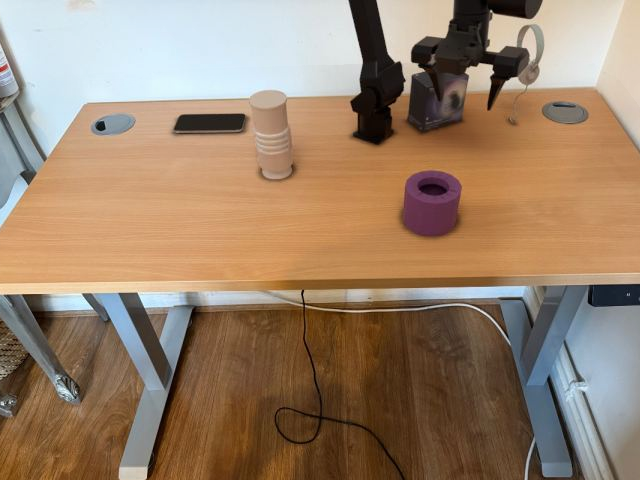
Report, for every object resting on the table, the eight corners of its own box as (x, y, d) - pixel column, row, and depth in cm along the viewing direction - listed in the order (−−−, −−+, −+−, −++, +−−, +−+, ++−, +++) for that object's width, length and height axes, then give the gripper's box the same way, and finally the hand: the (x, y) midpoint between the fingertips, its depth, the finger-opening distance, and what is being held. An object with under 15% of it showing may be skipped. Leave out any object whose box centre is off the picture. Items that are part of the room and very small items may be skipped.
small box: (422, 134, 113) (427, 86, 105) (406, 121, 117) (409, 74, 109) (463, 121, 116) (470, 74, 109) (445, 109, 120) (451, 62, 113)
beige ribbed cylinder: (287, 183, 102) (279, 110, 91) (254, 177, 104) (242, 105, 93) (299, 163, 107) (293, 92, 96) (267, 158, 108) (257, 87, 97)
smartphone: (241, 129, 115) (172, 130, 115) (242, 132, 115) (173, 133, 116) (245, 113, 120) (179, 114, 120) (246, 115, 120) (180, 116, 121)
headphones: (529, 130, 113) (554, 32, 98) (512, 133, 112) (535, 35, 98) (512, 111, 119) (533, 16, 104) (495, 114, 118) (514, 19, 104)
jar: (392, 223, 93) (395, 190, 88) (420, 197, 98) (423, 164, 93) (439, 243, 89) (444, 210, 84) (465, 215, 94) (471, 181, 89)
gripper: (394, 20, 83) (395, 114, 94) (510, 33, 75) (497, 135, 85) (427, -1, 90) (424, 90, 100) (537, 9, 81) (522, 107, 92)
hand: (464, 105), depth 94 cm, fingers open, 9 cm apart
